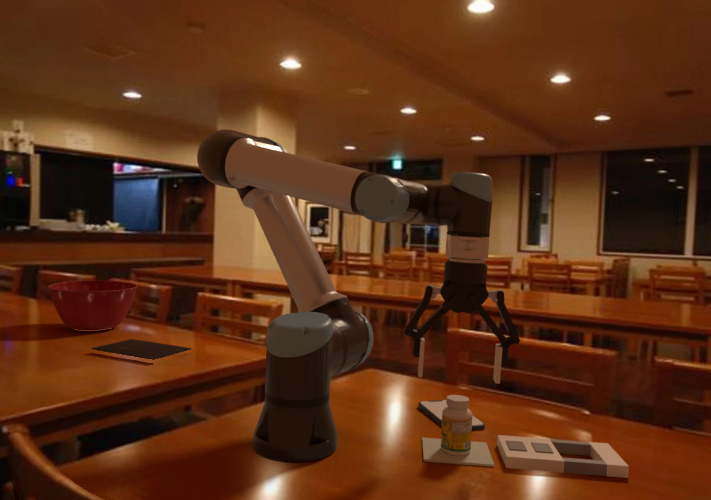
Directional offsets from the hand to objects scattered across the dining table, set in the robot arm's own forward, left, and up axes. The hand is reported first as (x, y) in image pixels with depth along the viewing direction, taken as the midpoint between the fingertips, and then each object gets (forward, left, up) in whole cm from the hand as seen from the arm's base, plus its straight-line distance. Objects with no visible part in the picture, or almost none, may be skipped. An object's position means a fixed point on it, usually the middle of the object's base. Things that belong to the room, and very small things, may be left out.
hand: (458, 378), depth 101 cm
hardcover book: (-86, +55, -14) cm, 103 cm away
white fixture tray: (+18, 0, -14) cm, 23 cm away
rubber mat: (0, 0, -14) cm, 14 cm away
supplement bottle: (0, 0, -13) cm, 13 cm away
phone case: (+1, +19, -14) cm, 24 cm away
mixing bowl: (-119, +85, -14) cm, 147 cm away
